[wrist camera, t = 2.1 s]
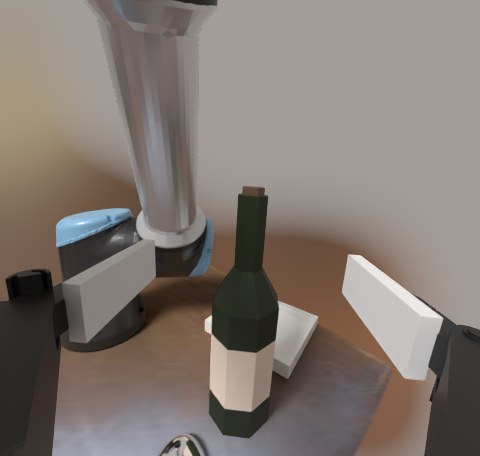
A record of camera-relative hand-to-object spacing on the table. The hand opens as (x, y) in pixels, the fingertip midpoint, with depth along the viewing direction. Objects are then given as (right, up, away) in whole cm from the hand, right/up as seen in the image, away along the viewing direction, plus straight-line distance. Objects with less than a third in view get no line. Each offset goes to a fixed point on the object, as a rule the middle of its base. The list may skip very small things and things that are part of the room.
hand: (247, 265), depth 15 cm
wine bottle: (-1, -22, +16) cm, 27 cm away
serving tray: (+4, -19, +31) cm, 37 cm away
